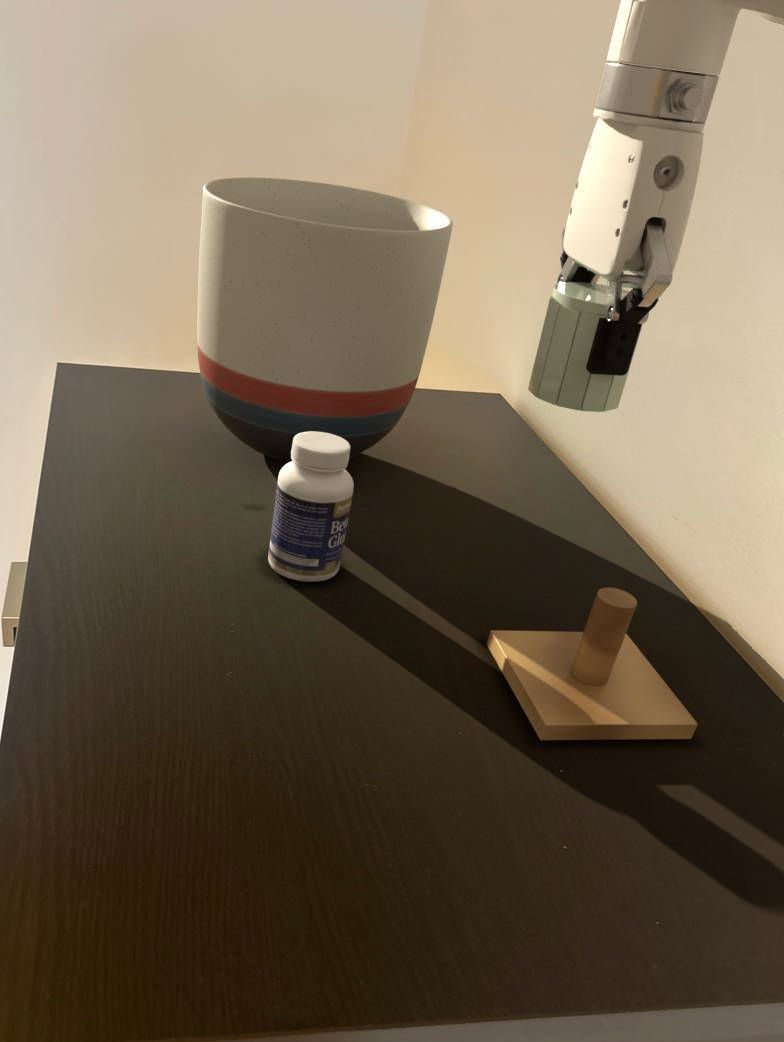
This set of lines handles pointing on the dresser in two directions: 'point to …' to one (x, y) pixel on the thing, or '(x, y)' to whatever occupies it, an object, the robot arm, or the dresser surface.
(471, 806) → the dresser surface
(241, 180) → the planter
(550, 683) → the peg stand
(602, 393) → the cup
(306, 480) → the pill bottle
